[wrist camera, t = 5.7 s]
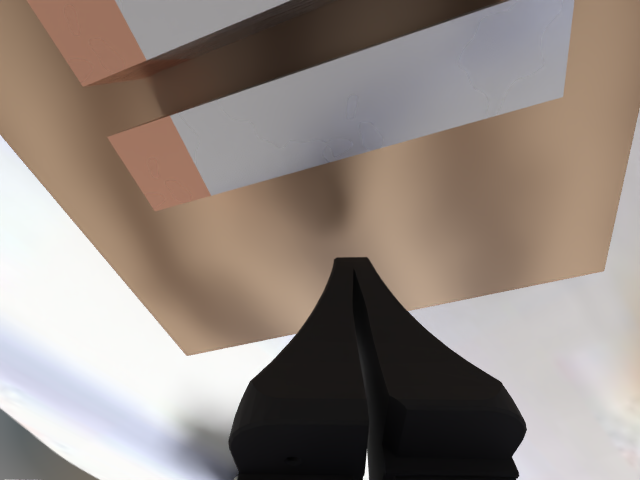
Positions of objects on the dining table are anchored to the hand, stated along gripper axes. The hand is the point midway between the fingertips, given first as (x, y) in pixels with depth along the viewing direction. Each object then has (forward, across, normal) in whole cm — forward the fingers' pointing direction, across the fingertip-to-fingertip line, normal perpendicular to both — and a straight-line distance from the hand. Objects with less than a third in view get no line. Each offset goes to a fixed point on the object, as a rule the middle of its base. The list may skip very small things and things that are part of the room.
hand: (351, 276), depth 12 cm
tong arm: (+2, +1, -6) cm, 7 cm away
